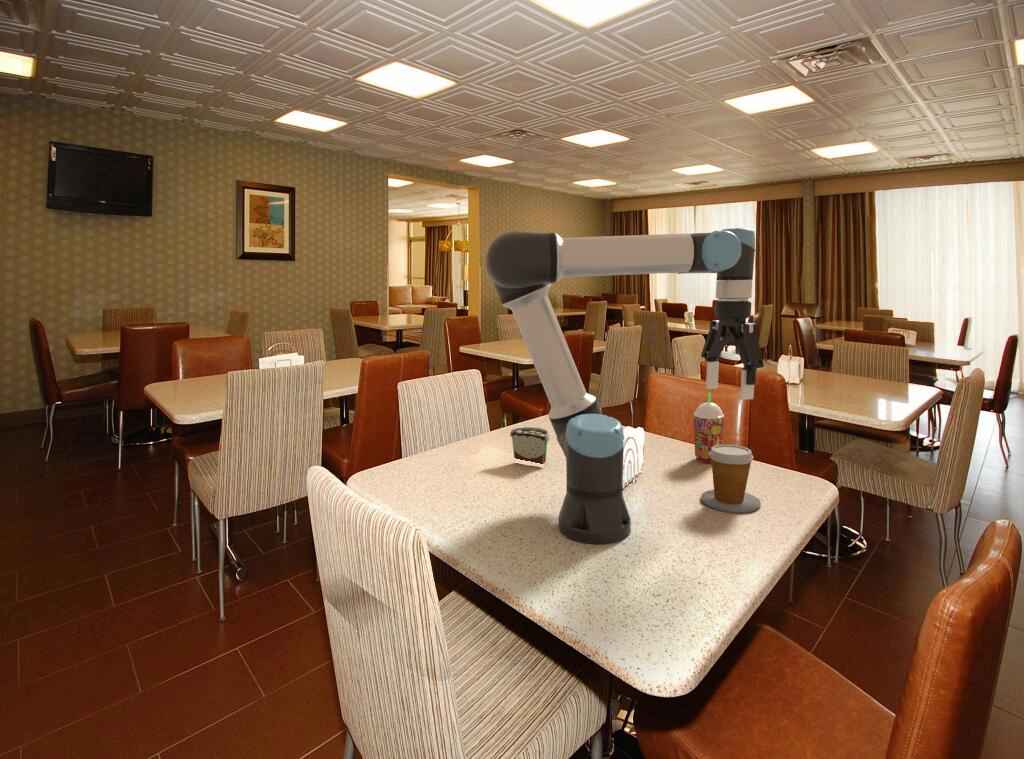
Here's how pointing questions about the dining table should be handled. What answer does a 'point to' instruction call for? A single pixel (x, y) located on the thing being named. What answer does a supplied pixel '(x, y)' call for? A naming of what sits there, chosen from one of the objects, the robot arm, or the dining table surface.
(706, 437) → the smoothie
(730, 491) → the disposable coffee cup
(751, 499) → the coaster
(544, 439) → the food container
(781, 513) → the dining table surface
